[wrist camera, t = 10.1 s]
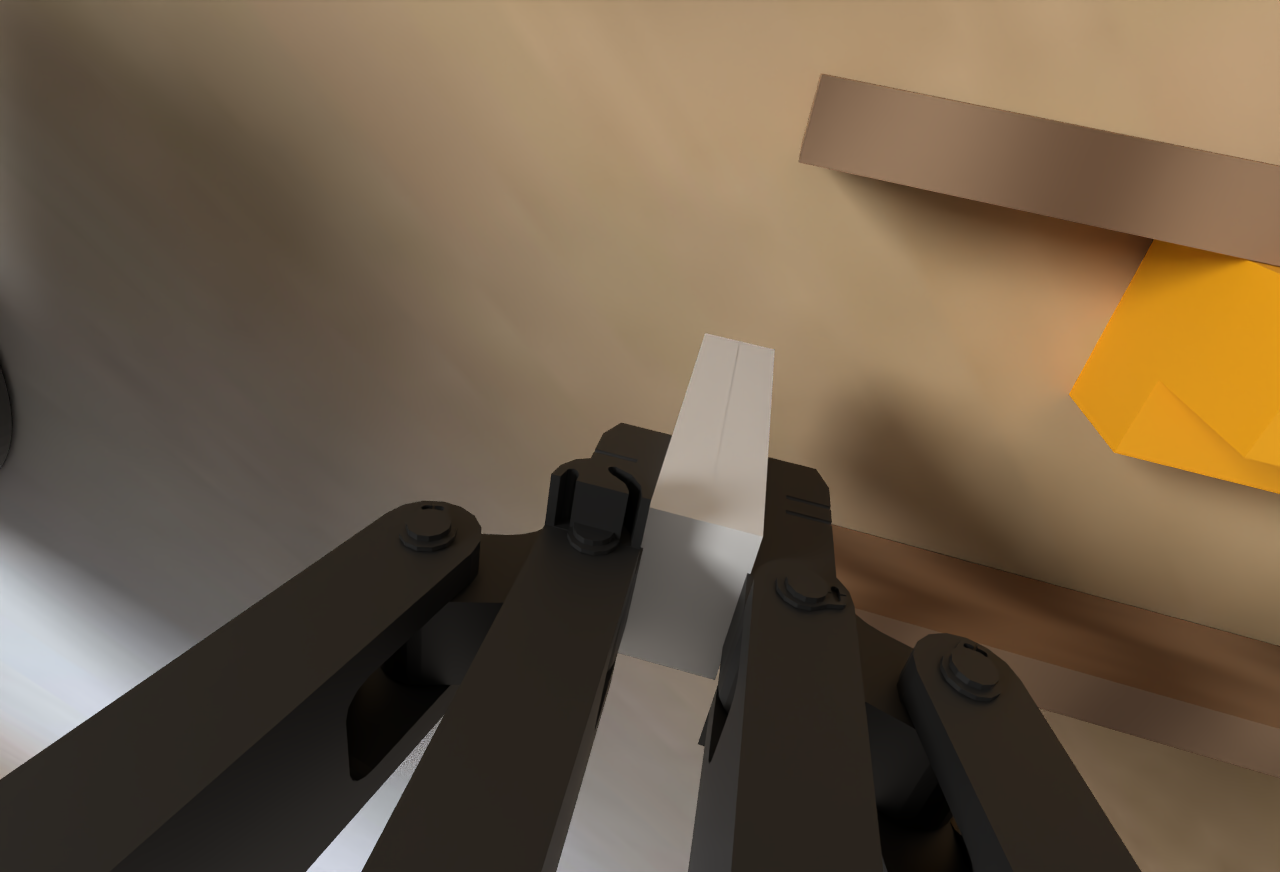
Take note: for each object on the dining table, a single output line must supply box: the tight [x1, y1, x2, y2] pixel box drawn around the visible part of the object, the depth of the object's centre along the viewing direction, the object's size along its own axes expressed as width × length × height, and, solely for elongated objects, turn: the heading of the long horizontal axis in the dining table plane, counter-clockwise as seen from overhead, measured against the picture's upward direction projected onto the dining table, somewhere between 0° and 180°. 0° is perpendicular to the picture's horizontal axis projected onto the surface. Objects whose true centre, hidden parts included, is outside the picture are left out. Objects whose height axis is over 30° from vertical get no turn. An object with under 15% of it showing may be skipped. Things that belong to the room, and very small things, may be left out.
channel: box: [799, 74, 1280, 778], centre depth 15 cm, size 24×13×6 cm, turn 79°
